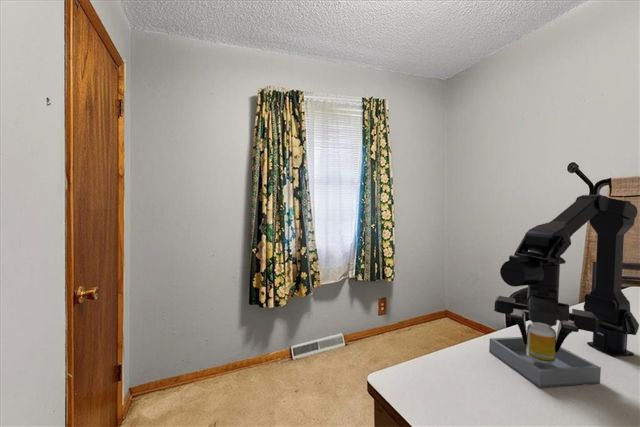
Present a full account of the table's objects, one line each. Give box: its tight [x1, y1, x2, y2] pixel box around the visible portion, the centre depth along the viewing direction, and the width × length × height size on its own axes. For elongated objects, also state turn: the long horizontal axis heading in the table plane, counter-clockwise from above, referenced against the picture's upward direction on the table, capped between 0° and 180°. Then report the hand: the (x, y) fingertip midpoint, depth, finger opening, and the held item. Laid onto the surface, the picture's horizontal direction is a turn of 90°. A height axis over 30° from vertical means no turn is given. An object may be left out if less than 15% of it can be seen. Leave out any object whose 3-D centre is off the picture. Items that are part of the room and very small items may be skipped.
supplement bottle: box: [526, 321, 557, 364], centre depth 67 cm, size 5×5×10 cm
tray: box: [488, 336, 602, 389], centre depth 67 cm, size 15×15×4 cm
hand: (540, 347), depth 67 cm, fingers closed on supplement bottle, 5 cm apart
